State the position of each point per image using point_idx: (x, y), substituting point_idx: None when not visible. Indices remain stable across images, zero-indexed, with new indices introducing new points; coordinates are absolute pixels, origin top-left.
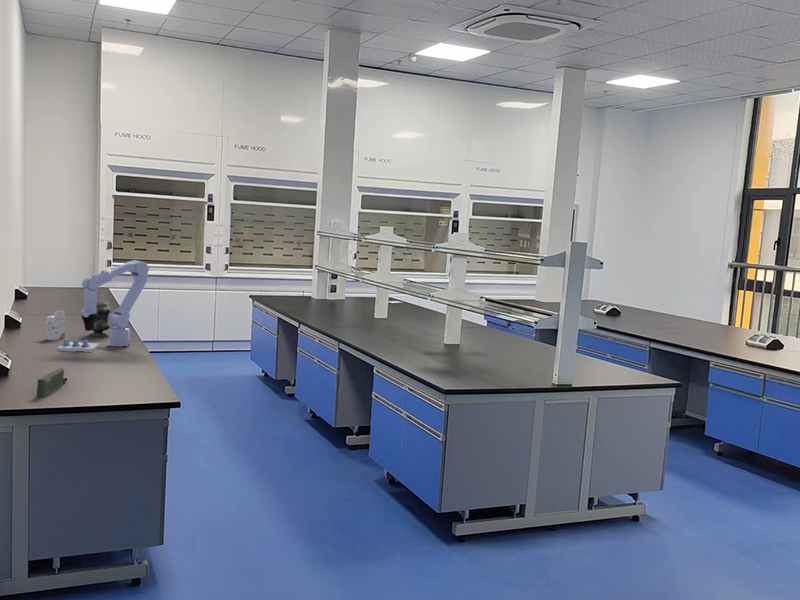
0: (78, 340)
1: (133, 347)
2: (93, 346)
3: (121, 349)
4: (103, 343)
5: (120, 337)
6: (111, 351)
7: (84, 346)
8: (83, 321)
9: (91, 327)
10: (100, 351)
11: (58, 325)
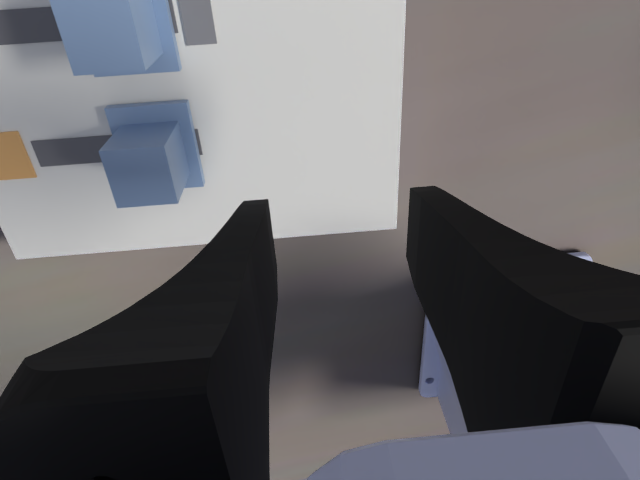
0: (125, 69)
1: (417, 420)
2: (182, 229)
3: (301, 385)
4: (596, 189)
5: (462, 417)
6: None
7: None
8: (143, 298)
9: (415, 270)
10: (127, 290)
11: None
